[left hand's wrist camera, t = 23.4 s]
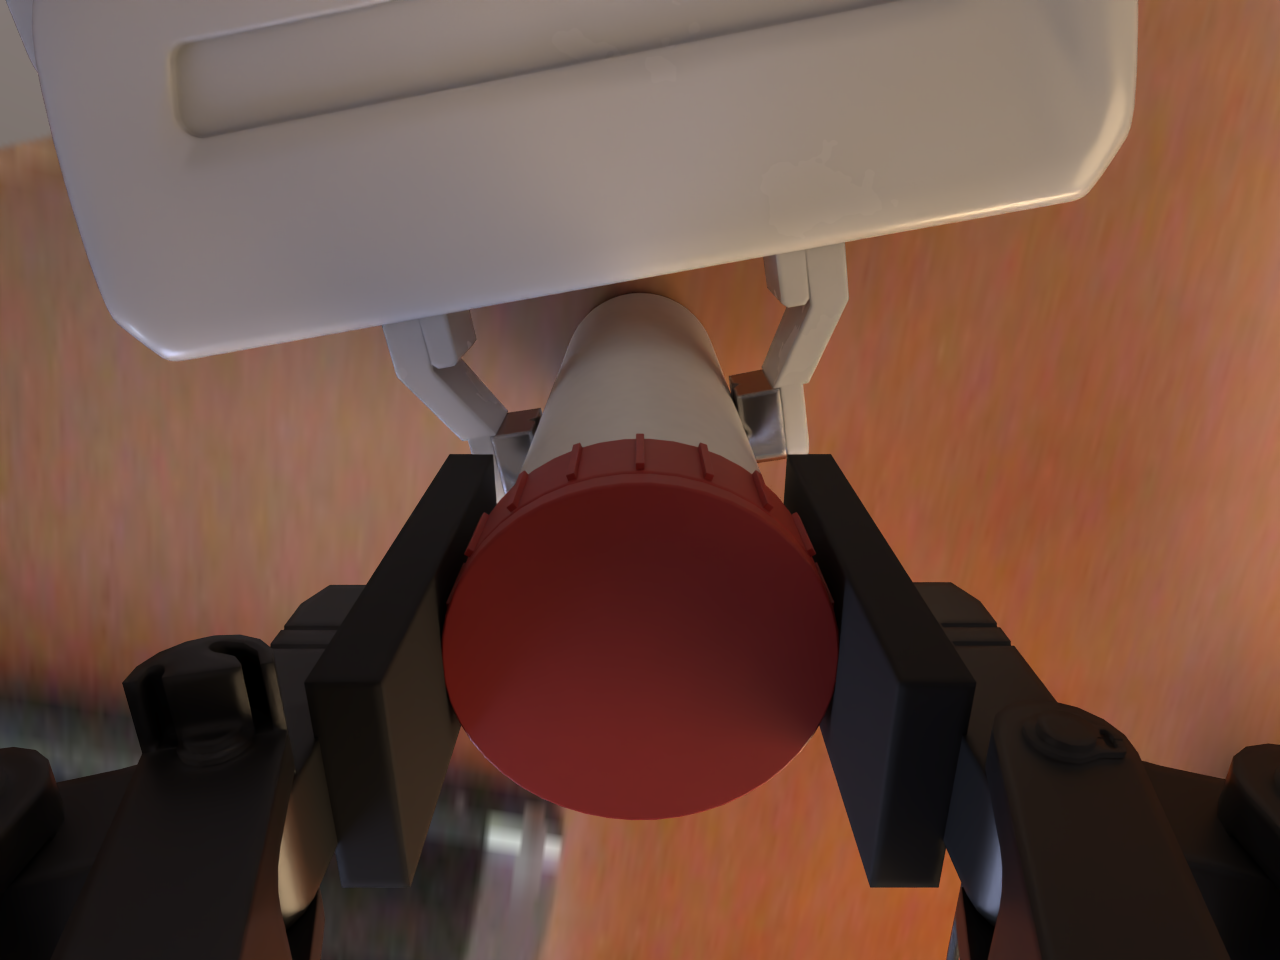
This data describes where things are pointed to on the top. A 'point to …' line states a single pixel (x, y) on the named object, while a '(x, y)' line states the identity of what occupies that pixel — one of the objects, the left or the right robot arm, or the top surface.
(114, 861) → the left robot arm
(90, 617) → the top surface
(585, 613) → the lid
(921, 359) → the top surface
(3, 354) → the top surface
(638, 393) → the screw-top jar
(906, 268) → the top surface
